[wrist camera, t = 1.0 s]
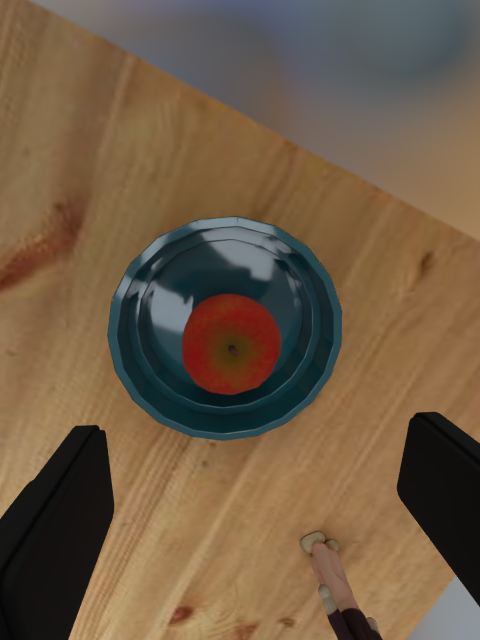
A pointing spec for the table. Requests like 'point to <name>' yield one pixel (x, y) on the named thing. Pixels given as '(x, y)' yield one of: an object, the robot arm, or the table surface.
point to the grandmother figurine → (337, 591)
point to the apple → (230, 344)
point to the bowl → (210, 280)
